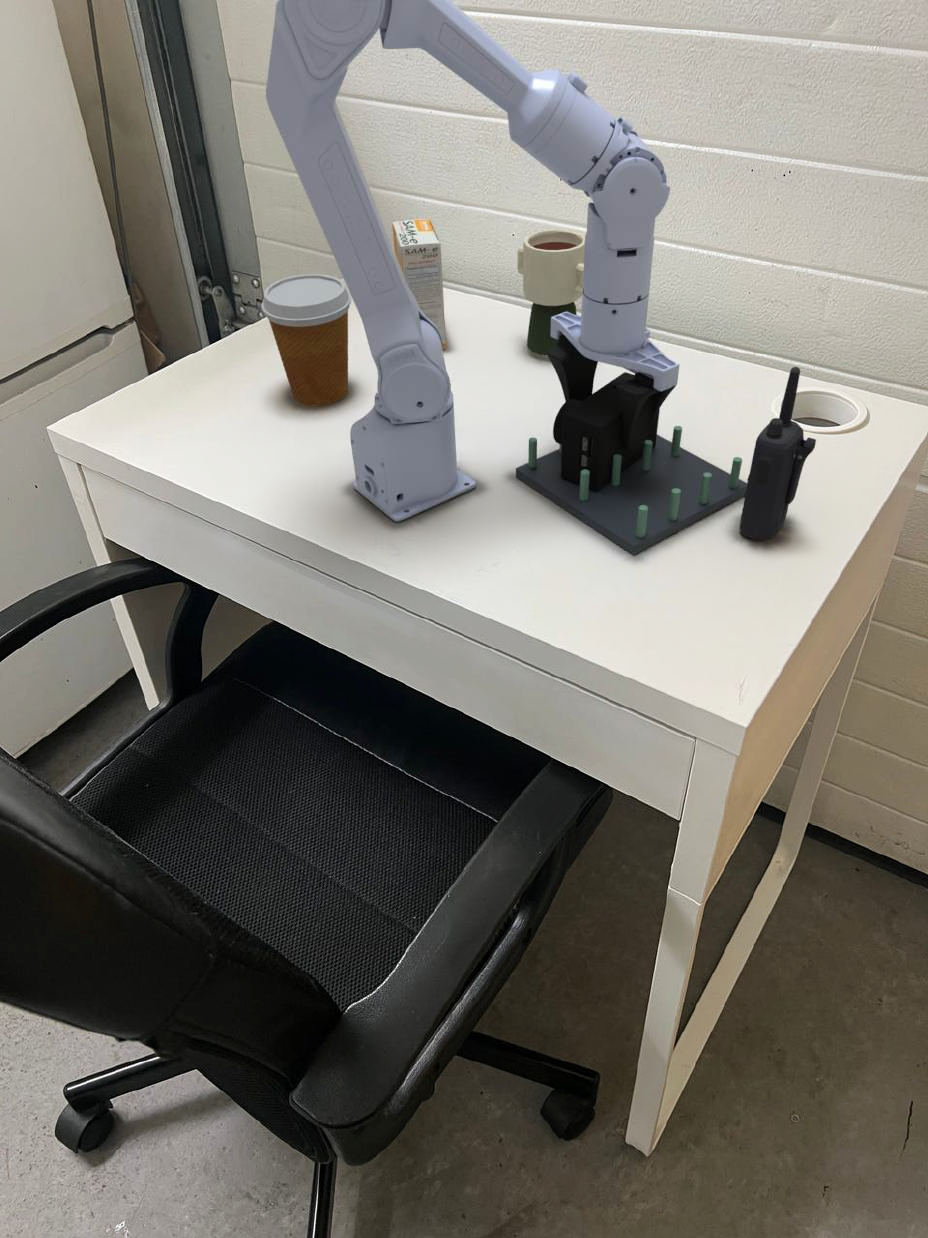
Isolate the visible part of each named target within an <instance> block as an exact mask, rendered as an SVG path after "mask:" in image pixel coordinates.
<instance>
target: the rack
mask: <svg viewBox="0 0 928 1238" xmlns="http://www.w3.org/2000/svg"><path fill="white" fill-rule="evenodd" d="M682 434H683V427H682V426H681V425H674V427H673V430H672V439H671V441H670V440H668V439H667V438H664V437H662V436H661V435H659V434H657V438H656V446H655V447H654V448H653V449H652V441H651V440H645V443H644V447H643V457H641V458H640V459H639V460H638V461H636V462H635V463H634V464H632V465H631V466H630V467H629V468H627V469H626V470H625V471H624V472H622V473H621V474H620V471H621V459H622V457H621V455H618V454H616V455H614V456H613V463H612V476H611V482H610V483H608V484H607V485H606V486H604V487H603V488H602V489H601V490H599V491H598V492H594V491H592V490H590V489H589V474H590V472H589V471H588V470H582V471H581V476H580V485H577V484H575V483H572V482H570V481H567V480H565V479H563V478H561V454H562V445H561V444H559V448H558V449H555V450H553V451H551V452H549V453H547V454H544V455H542V456H540V457H538V439H537V438H536V437H530V438H528V462H527V463H525V464H522V465H520V466H518V467H516V468H515V477H516V478H517V479H518V480H520V481H522V482H523V483H524V484H525V485H528V486H529V487H531V488H532V489H534V490H535V491H536V492H538V493H540V494H541V495H542V496H544V497H546V498H547V499H549V500H550V501H552V502H553V503H555V504H556V505H557V506H559V507H561V508H562V509H564V510H565V511H566V512H568V513H569V514H571V515H573V516H574V517H576V518H577V519H579V520H580V521H582V522H583V523H585V524H586V525H588V526H589V527H591V528H592V529H594V530H595V531H597V532H598V533H600V534H601V535H603V536H604V537H605V538H607V539H609V540H610V541H611V542H613V543H615V544H616V545H618V546H619V547H621V548H622V549H623V550H624V551H626V552H629V553H630V554H631V555H632V556H634V555H637V554H639V553H640V552H642V551H644V550H646V549H648V548H650V547H652V546H654V545H655V544H657V543H659V542H661V541H663V540H665V539H666V538H668V537H670V536H671V535H673V534H675V533H676V534H677V532H679V531H682V530H683V529H685V528H688V526H690V525H692V524H694V523H696V522H698V521H700V520H701V519H704V518H705V517H707V516H709V515H711V514H712V513H715V512H716V511H718V510H720V509H722V508H724V507H725V506H727V505H730V504H731V503H733V502H735V501H737V500H739V499H740V498H743V497H744V494H745V491H746V490H747V486H748V485H747V481H744V480H742V479H740V476H741V475H740V474H741V469H742V463H743V458H742V457H740V456H735V457H734V458H733V459H732V463H731V464H732V465H731V470H730V473H729V472H727V471H725V470H723V469H722V468H720V467H718V466H716V465H714V464H712V463H711V462H709V461H707V460H705V459H703V458H702V457H699V456H698V455H696V454H694V453H692V452H691V451H688V450H686V448H683V447H682V446H681V443H682V442H681V441H682Z"/></svg>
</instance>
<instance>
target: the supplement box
mask: <svg viewBox="0 0 928 1238" xmlns="http://www.w3.org/2000/svg"><path fill="white" fill-rule="evenodd" d="M391 226H392V227H391V229H392V238H393V249H394V252H395V254H396V257H397V259H398V262H399V264H400V267H401V270H402V272H403V275H404V277H405V280H406V282H407V285H408V287H409V289H410V290H411V292H412V293H413V295H414V296H415V298H416V301H417V304H418V306H419V308H420V310H421V311H422V313H423V314H424V315H425V316H426V317H427V318H428V319H430V320H431V321H432V322H433V323H434V324H435V325H436V326H437V328H438V330H439V331H440V334H441V336H442V341H443V350H446V349H447V335H446V321H445V319H446V318H445V317H446V316H445V301H444V299H445V298H444V282H443V280H444V279H443V265H442V264H443V263H442V249H441V248H442V247H441V240H440V239H439V237H438V234H437V231H436V230H435V228H434V225H433V223H432V221H431V219H430V217H429V218H417V219H406V220H398V221H392V222H391Z"/></svg>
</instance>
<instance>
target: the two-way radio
mask: <svg viewBox="0 0 928 1238" xmlns="http://www.w3.org/2000/svg"><path fill="white" fill-rule="evenodd" d="M800 375H801V368H800V367H798V366H792V368H791V369H790V371H789V375H788V378H787V383H786V387H785V391H784V395H783V400H782V403H781V407H780V411H779V416H778V417H774V418H772V419H770V421H769V423H768V424H767V425H765V427H764V428H763V429H762V430H761V431H760V433H759V434H758V436H757V437H756V440H755V445H754V449H753V454H752V459H751V464H750V468H749V474H748V476H747V479H746V483H747V485H748V486H747V490H746V491H745V494H744V496H743V498H744V500H743V506H742V511H741V515H740V523H739V531H740V532H741V534H742V535H744V536H745V537H748V538H750V539H753V540H768V539H772V538H773V537H775V536H776V535H777V534H778V533H779V532H780V530H781V529H782V528H783V526H784V524H785V522H786V519H787V514H788V512H789V511H788V510H789V506H790V504H792V503H793V501H794V499H795V498H796V495H797V491H798V488H799V482H800V478H801V474H802V473H803V472H802V471H803V467H804V464H805V462H806V460H807V458H808V457H809V456H810V454H811V453H813V452H814V450H815V447H816V442H817V439H816V438H812V437H807V438H806V439H805V437H804V429H803V427H801V425H799V423H797V422H795V421H794V420H792V419H793V414H794V408H795V403H796V397H797V391H798V387H799V380H800Z"/></svg>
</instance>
